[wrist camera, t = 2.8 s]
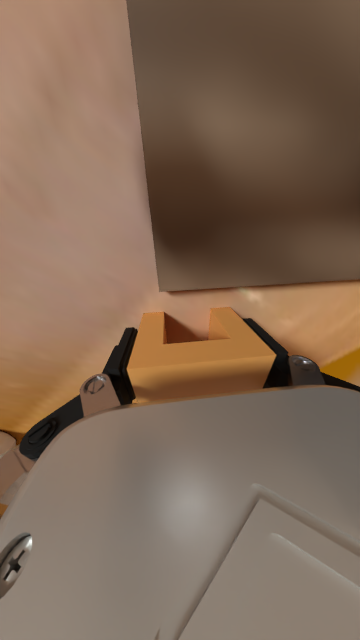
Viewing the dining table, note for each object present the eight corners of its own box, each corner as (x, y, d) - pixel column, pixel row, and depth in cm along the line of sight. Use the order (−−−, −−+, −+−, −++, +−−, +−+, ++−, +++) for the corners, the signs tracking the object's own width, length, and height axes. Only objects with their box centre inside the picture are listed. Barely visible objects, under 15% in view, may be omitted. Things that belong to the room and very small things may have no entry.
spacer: (143, 313, 11) (126, 369, 6) (230, 307, 11) (276, 354, 7) (150, 351, 13) (142, 416, 8) (223, 345, 13) (256, 402, 9)
